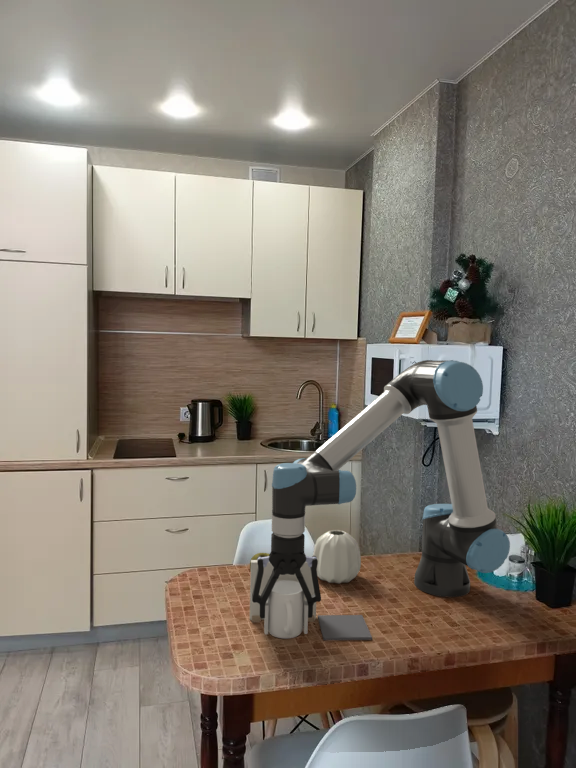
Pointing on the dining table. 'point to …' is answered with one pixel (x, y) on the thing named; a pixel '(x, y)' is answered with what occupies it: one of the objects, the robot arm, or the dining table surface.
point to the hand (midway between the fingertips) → (285, 630)
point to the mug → (286, 609)
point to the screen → (266, 575)
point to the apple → (257, 556)
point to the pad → (344, 627)
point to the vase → (337, 557)
